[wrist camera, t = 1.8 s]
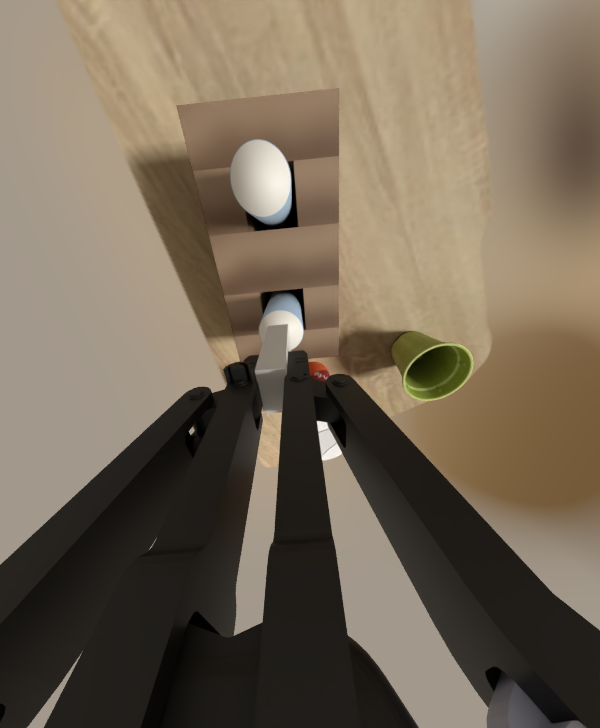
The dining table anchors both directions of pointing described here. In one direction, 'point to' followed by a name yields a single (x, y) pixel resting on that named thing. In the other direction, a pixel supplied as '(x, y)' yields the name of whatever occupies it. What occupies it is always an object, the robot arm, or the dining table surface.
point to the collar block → (243, 231)
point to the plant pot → (431, 366)
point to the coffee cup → (325, 436)
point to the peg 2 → (284, 315)
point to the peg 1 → (262, 182)
